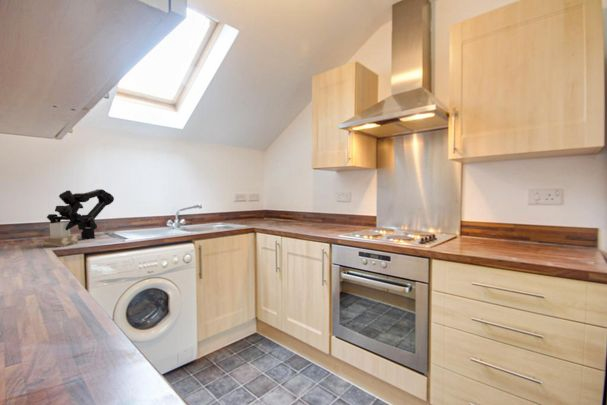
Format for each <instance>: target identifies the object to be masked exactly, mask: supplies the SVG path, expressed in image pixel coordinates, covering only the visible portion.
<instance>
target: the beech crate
mask: <svg viewBox="0 0 607 405" xmlns="http://www.w3.org/2000/svg"><path fill="white" fill-rule="evenodd" d="M78 241H79V240H78V235H70V237H67V238H62V239H50V237H47V238H42V245H43V247H44V248H48V247H49V248H50V246H63V247H67V246H71V245H75V244H78ZM66 245H67V246H66Z"/></svg>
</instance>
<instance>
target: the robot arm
mask: <svg viewBox="0 0 607 405" xmlns="http://www.w3.org/2000/svg"><path fill="white" fill-rule="evenodd" d="M58 197H59V199H60V200H61V201H62V202H63V203H64V204H65V205H56V206H55V208H54V209H55V210H54V212H57V213H58V214H56V213H55V214H54V213H52V214H48V215H47V216H46V219H47V220H48V221H49V222H50V223H57V222H61V221H68V222H69V223H68V225H67V227H66V230H68V229H70V230H71V229H72V228H73V227H75V226H77V227H78V230H79V231H80V238H81V239H82V240H91V239H96V236H95V230H96V229H98V224H96V220H95V219H96V218H97V217H98V216H99V214H100V213H101V212H102V211H103V210H104V208H105V207H106V206H109V205H111V204H112V203H113V202H114V201H115V197H114V195H112V194H111V193H109V192H107V191H105V190H104V189H95V190H92V191H86V192H84V193H79V192H78V193H72V191H71V190H66V191H63V192H62V193H60V194H59V195H58ZM93 198H97V201H98V202H97V203H96V204H95V205H94V207H93V208H91V210H90V211H89V212H88V213H87V214H81V213H78V211H79V210H80V209H84V206H83V204H82V203H87V202H88V201H89V200H90V199H93ZM59 215H60V216H59ZM50 223H49V224H50Z"/></svg>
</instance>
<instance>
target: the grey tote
mask: <svg viewBox="0 0 607 405" xmlns="http://www.w3.org/2000/svg"><path fill="white" fill-rule="evenodd" d="M69 222H70V221H62V222H61V221H60V222H57V223H49V238H50V239H62V238H67V237H70V236H71V228H70V229H68V230H66V227H67V225H68V223H69Z"/></svg>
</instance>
